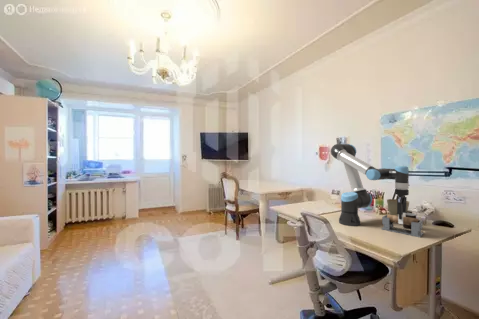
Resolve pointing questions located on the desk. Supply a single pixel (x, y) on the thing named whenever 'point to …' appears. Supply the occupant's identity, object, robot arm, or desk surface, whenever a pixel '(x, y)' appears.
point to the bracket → (413, 232)
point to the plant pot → (394, 206)
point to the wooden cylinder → (405, 219)
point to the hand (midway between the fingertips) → (401, 222)
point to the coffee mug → (410, 217)
